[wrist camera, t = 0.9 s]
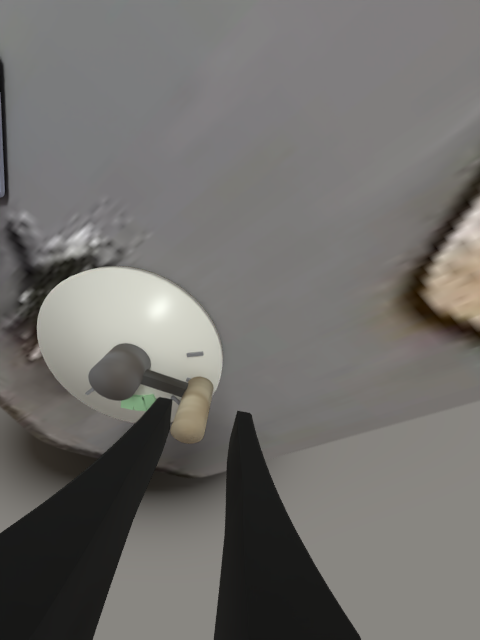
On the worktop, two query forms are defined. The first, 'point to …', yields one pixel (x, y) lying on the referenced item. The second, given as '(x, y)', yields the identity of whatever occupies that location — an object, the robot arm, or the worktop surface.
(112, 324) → the dial plate
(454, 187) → the worktop surface
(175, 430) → the crank handle
